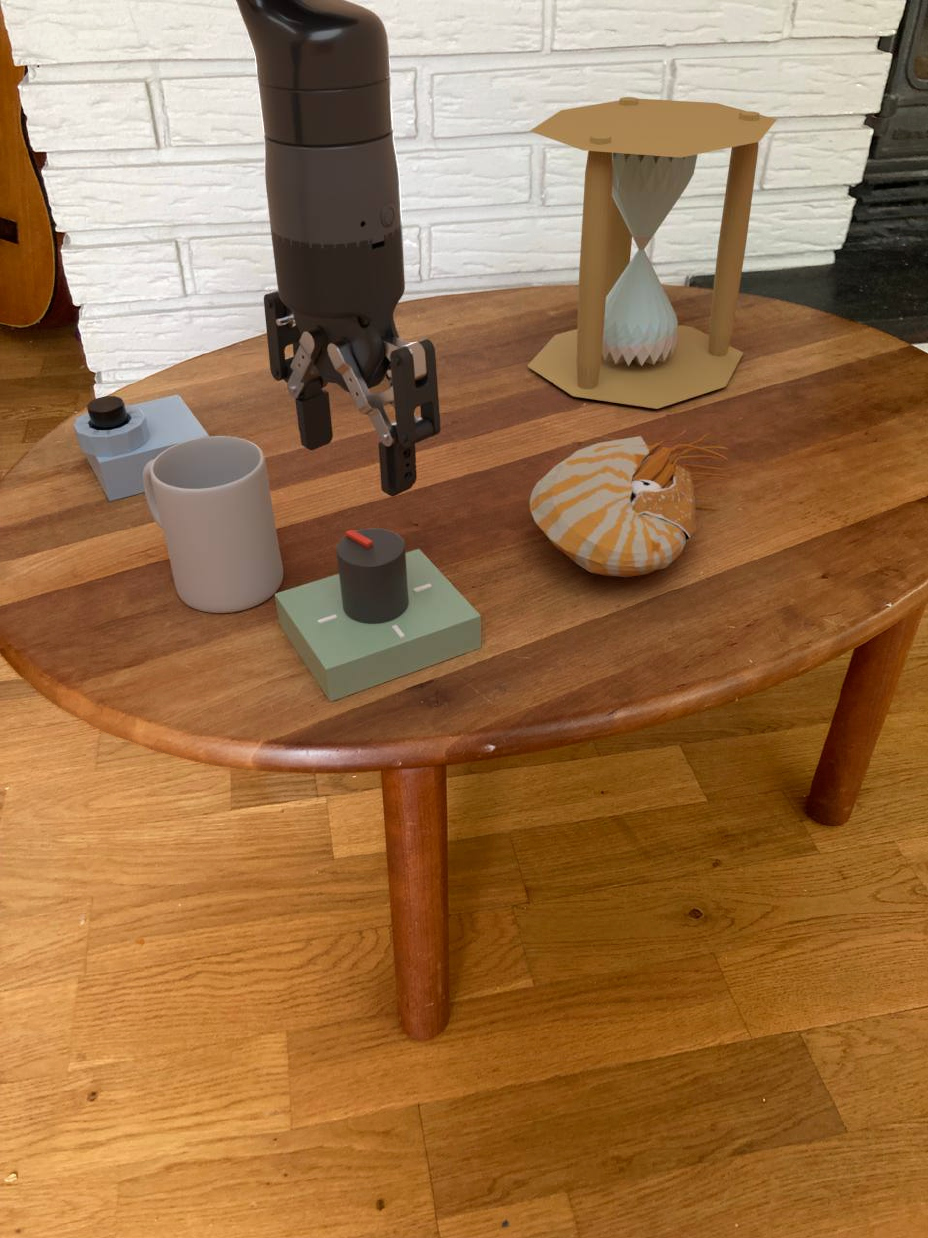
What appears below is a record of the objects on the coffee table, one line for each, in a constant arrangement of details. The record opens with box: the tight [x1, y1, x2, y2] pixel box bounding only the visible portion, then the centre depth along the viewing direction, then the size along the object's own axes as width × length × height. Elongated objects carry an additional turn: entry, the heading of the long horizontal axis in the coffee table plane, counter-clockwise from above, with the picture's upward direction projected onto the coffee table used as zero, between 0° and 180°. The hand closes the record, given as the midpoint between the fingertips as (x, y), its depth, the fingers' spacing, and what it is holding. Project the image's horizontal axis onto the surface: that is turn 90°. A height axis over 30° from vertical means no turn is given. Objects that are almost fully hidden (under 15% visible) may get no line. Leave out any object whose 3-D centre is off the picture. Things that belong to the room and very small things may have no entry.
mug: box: [143, 435, 284, 614], centre depth 81 cm, size 12×8×11 cm
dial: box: [335, 528, 409, 623], centre depth 74 cm, size 5×5×5 cm
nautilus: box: [529, 428, 735, 578], centre depth 85 cm, size 8×22×15 cm
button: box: [86, 395, 129, 430], centre depth 93 cm, size 3×3×2 cm
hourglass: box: [527, 96, 778, 410], centre depth 107 cm, size 24×22×25 cm
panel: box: [274, 548, 482, 703], centre depth 77 cm, size 12×10×3 cm
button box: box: [73, 394, 210, 502], centre depth 97 cm, size 11×10×6 cm
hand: (356, 467), depth 69 cm, fingers open, 8 cm apart
